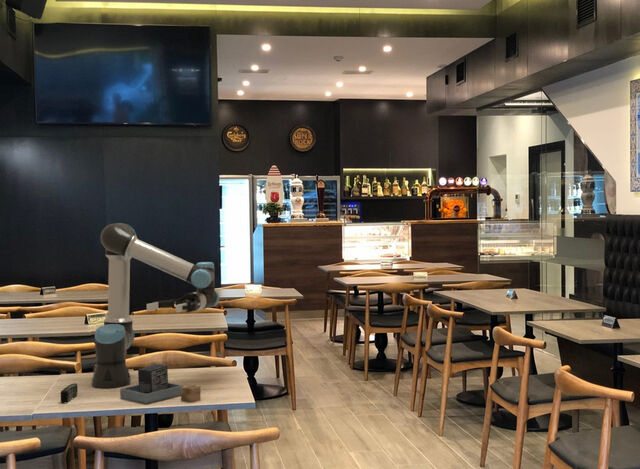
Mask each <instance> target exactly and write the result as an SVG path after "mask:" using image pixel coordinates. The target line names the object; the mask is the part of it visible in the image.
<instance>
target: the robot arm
mask: <svg viewBox="0 0 640 469" xmlns="http://www.w3.org/2000/svg"><path fill="white" fill-rule="evenodd" d="M100 243H101V245H102V246H103V248H105V251H104V252H105V253H104V254H105V257H106V258H107V259H108V293H107V294H108V297H107V301H108V302H107V317H106V318H105V319H103V320H104V321H103V325H100V326H98V327H97V328H96V329H95V331H94V332H95V334H94V340H95V345H94V346H95V347H94V348H95V369H94V372H93V376H92V379H91V387H93V388H99V389H110V388H120V387H121V388H122V387H126V386H128V385H130V384H131V382H132V381H131V380H132V379H131V375H130V372H129V370H128V366H127V362H126V361H127V360H126V358H127V357H126V356H127V355H126V354H127V353H126V351H127V350H128V349H130V347H131V346H132V345H133V343H134V340H135V330H134V328H133V322H134V321H133V319H132V318H131V317H130V287H131V286H130V283H131V282H130V280H131V277H130V276H131V275H130V272H131V271H130V270H131V259H132V258H133V259H135V260H137V261H140V262H143V263H144V264H147V265H149V266H150V267H153V268H155V269H158V270H159V271H162V272H164V273H167V274H169V275H171V276H173V277H175V278H177V279H180V280H183V281H184V282H187V283H189V284H191V285H192V286H194V287H195V288H196V291H193V292H188V293H185V294H184V295H183V296H181V298H177V299H169V300H159V301H152V303H146V312H151V311H154V310H155V311H158V310H159V309H169V308H170V309H171V308H172V309H175V313H181V312H186V313H191V312H192V313H193V312H196V313H197V312H199V311H200V310H205V309H211V308H213V307H217V305H218V304H219V302H220V298H221V297H220V294H219V293H218V291H217V290H216V288H215V271H216V270H215V264H214V262H212V261H201V262H197V263H196V264H194V263H192V262H189V261H187V260H184V259H183V258H181V257H178V256H176V255H174V254H172V253H169V252H168V251H166V250H163V249H160V248H158V247H156V246H154V245H152V244H149V243H147V242H145V241H143V240H140V239H138V237H137V233H136V231H135V229H134V228H133V227H132V226H130V225H129V224H127V223H122V222H118V223H110V224H108V225H106V226H104V228H103V229H102V231H101V233H100Z"/></svg>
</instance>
